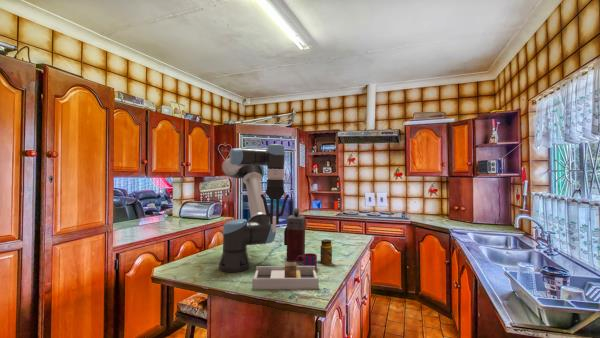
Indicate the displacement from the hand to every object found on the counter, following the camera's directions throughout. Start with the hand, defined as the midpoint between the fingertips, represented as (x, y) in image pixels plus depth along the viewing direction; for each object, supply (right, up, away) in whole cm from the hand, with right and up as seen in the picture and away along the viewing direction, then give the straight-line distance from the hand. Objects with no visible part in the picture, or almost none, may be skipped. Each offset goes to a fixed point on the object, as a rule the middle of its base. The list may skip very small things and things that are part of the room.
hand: (274, 231), depth 124 cm
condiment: (+25, -22, +22) cm, 40 cm away
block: (+7, -19, -3) cm, 20 cm away
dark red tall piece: (+8, -22, +30) cm, 38 cm away
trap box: (+5, -21, -3) cm, 22 cm away
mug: (+15, -22, +14) cm, 30 cm away
